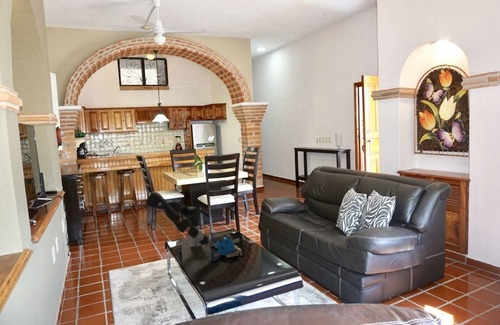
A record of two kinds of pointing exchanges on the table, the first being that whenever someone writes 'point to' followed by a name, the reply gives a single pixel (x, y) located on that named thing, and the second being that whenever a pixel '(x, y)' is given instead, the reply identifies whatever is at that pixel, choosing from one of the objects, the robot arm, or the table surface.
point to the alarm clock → (225, 245)
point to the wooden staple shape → (237, 252)
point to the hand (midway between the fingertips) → (217, 250)
